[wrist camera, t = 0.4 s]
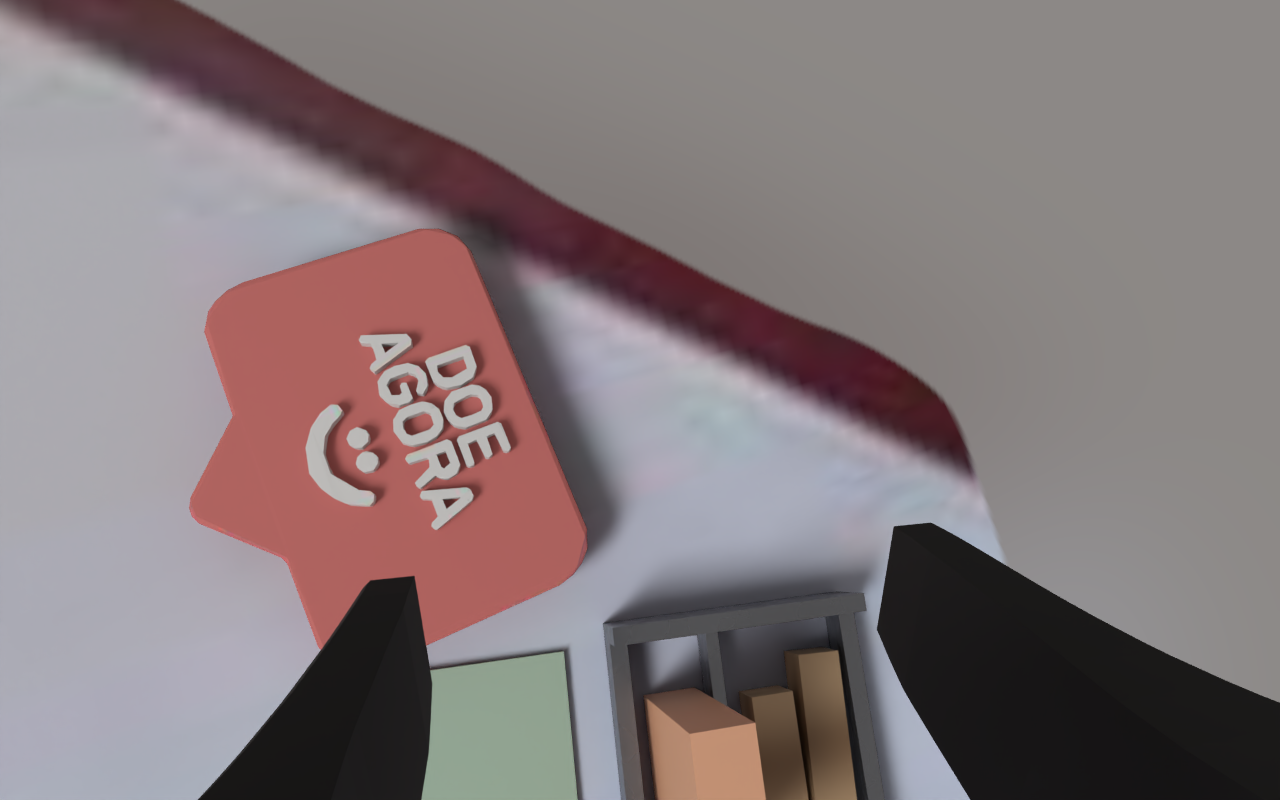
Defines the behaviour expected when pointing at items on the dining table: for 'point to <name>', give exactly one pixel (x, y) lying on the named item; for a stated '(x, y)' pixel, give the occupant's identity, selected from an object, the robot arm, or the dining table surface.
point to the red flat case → (386, 436)
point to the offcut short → (777, 741)
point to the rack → (706, 628)
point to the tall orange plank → (701, 748)
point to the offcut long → (821, 722)
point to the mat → (501, 731)
